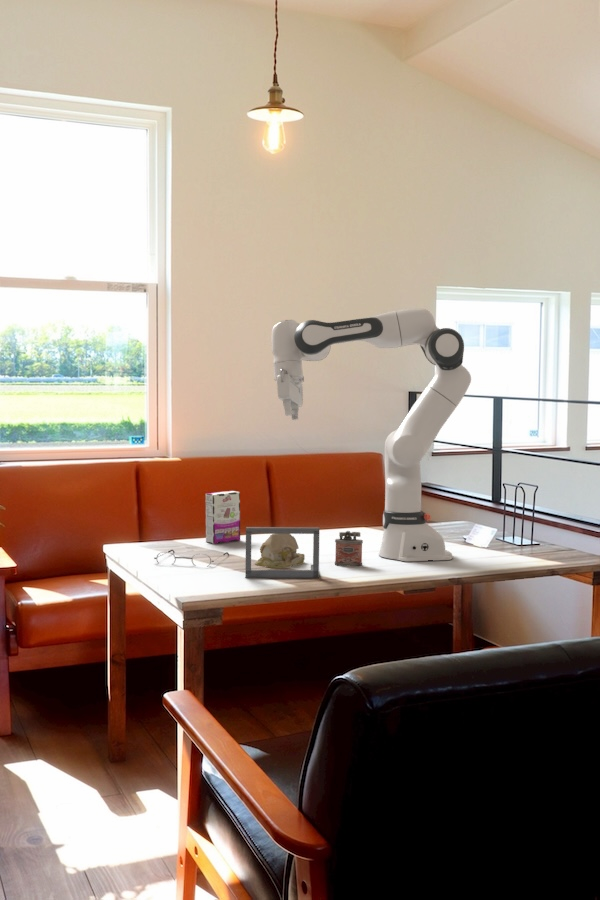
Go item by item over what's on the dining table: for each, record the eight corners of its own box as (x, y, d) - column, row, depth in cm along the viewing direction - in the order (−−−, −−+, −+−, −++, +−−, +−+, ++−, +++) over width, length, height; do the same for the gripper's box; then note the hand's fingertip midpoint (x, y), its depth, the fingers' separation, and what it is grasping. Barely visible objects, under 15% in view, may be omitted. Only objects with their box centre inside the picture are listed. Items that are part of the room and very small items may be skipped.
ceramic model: (271, 570, 264) (271, 535, 263) (249, 563, 273) (249, 529, 272) (310, 564, 273) (310, 530, 272) (287, 558, 282) (287, 525, 281)
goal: (316, 569, 265) (316, 522, 264) (318, 578, 254) (319, 528, 253) (245, 569, 264) (246, 521, 262) (245, 577, 253) (245, 527, 252)
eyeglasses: (153, 565, 270) (153, 551, 270) (173, 555, 288) (173, 542, 288) (213, 568, 267) (213, 554, 266) (229, 558, 285) (230, 545, 285)
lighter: (334, 565, 271) (334, 531, 270) (335, 563, 274) (335, 529, 273) (361, 566, 270) (362, 532, 269) (362, 564, 273) (363, 530, 272)
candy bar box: (231, 538, 313) (232, 490, 312) (240, 540, 310) (241, 491, 308) (204, 542, 306) (204, 492, 305) (213, 544, 302) (213, 494, 301)
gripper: (291, 365, 273) (295, 411, 271) (304, 378, 293) (308, 421, 291) (270, 368, 274) (274, 414, 273) (285, 380, 294) (288, 423, 292)
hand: (292, 417), depth 282 cm, fingers open, 8 cm apart
